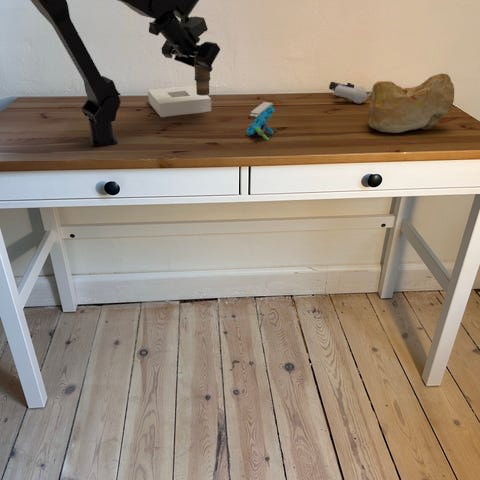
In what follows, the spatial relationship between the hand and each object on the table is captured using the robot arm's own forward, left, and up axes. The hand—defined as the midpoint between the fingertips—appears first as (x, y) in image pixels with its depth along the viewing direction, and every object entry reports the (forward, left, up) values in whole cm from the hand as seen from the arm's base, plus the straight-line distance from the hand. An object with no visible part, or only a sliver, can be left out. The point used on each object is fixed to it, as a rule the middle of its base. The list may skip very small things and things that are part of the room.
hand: (205, 69), depth 135 cm
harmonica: (-4, -16, -14) cm, 22 cm away
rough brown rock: (-30, -49, -14) cm, 59 cm away
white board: (+10, +6, -13) cm, 18 cm away
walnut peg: (-1, +1, -7) cm, 7 cm away
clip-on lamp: (-4, -52, -14) cm, 54 cm away
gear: (-22, -8, -14) cm, 27 cm away
